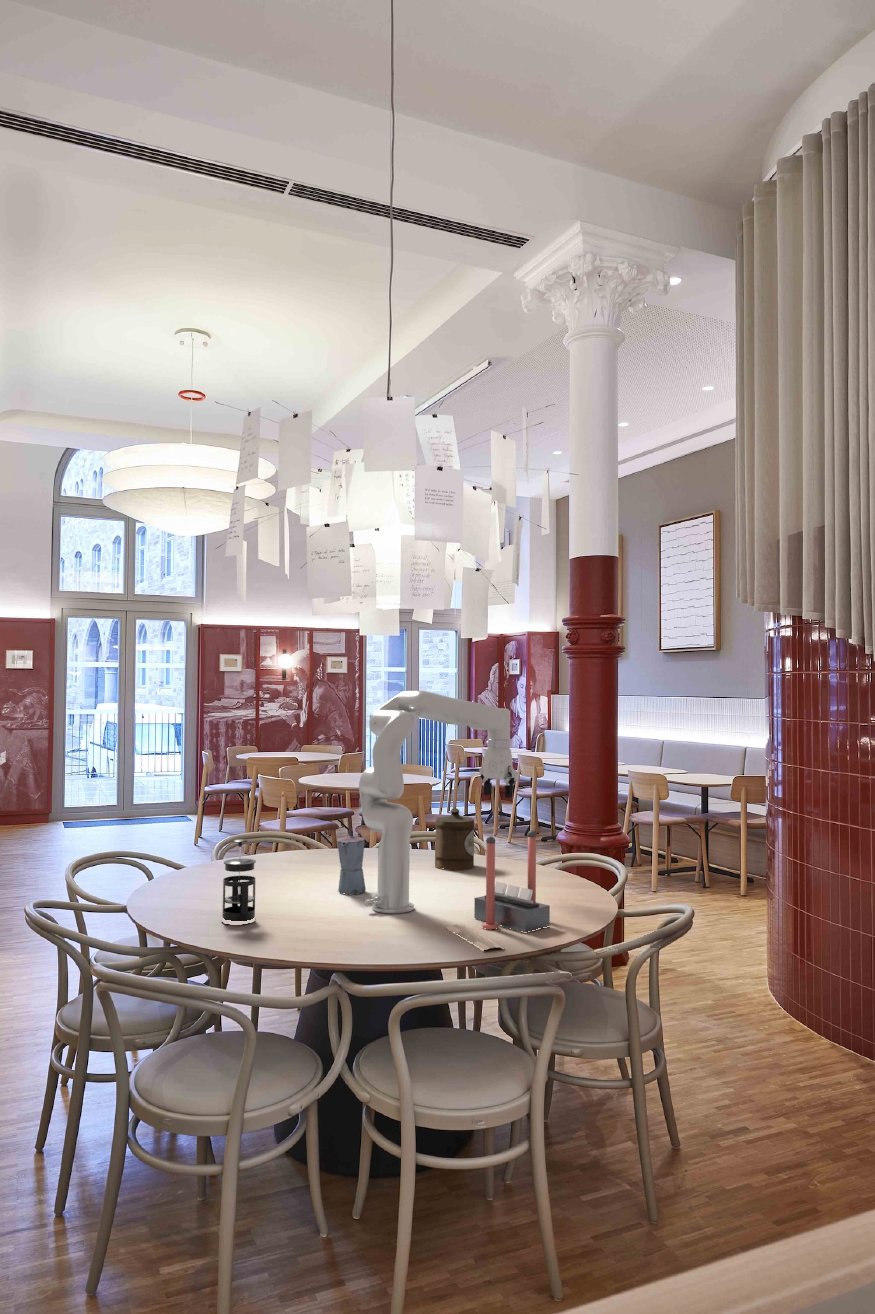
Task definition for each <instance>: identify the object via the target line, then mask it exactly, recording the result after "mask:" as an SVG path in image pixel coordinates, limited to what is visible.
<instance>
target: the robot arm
mask: <svg viewBox="0 0 875 1314" xmlns="http://www.w3.org/2000/svg"><path fill="white" fill-rule="evenodd" d="M415 718H421V719H424V720H430V721H433V722H438V723H442V724H447V725H453V726H454V725H455V726H468V727H469V728H470V729H472V730H477V731H487V741H486V742H485V743H486V745H487V748H485V751H484V757H483V765H482V767H481V768H479V769H478V772H479V775H480V778H481V780H482V783H483V795H484V796H491V795H492V793H493V792H492V791H493V788H492V786H493V782H492V780H493V779H494V780H503V781H504V783H505V785H504V798H513V795H514V794H513V793H514V791H513V787H514V785H515V783H516V782H517V779H518V777H519V775H520V773H519V772H518V771H517V770H516V769H515V768H514V766H513V763H514V762H513V754H512V750H511V711H510V710H509V708H501V707H499V708H498V707H496V706H492V705H488V704H483V703H479V702H474V701H468V700H464V699H460V698H456V697H451V696H446V695H442V694H438V693H436V692H435V693H434V692H430V691H426V690H405V691H401V692H400V693H398V694H397V695H395V696H394V697H393V698H391V699H390V700H388V701H387V702H385V703H384V704H383V705H382V706H380V707H379V708H378V709H376V710H375V711H374V712H373V713H372V714H371V716H370V719H369V721H368V722H369V723H368V724H369V729H370V731H371V732H372V733H373V735H375V736H377V738H376V739H375V742H374V743H373V747H372V764H373V766H370V767H368V768H366V769H365V770H364V771H363V772H362V773H361V775H360V778H359V782H358V791H359V799H360V807H361V813H362V820H363V823H364V824H365V826H366V827H367V828H368V829H369V830H370V831H372V832H376V833H381V834H382V835H381V838H380V841H379V844H378V848H377V893H375V894H374V896H373V897H372V898H368V899H364V901H363V902H364V906H365V907H370V906H372V910H373V911H374V912H378V913H382V914H404V913H408V912H411V911H413V910H414V909H415V904H414V903H412V902H410V847H411V844H410V843H411V835H412V831H413V826H414V818H413V817H414V816H413V814H412V812H411V810H410V809H409V808H408V807H407V806H405V805H403V804H400V803H396V802H388V801H389V800H390V801H392V800H394V801H395V800H398V799H399V798H400V797H402V795H403V794H404V792H405V791H404V790H405V784H404V774H403V767H402V757H401V756H402V755H401V753H402V747H403V744H404V742H405V741H406V739H407V738H408V737H409V736H410V735H411V733H412V732H413V730H414V727H415Z"/></svg>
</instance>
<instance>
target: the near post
mask: <svg viewBox="0 0 875 1314" xmlns="http://www.w3.org/2000/svg"><path fill="white" fill-rule="evenodd" d="M485 842H486V843H485V844H486V859H485V861H486V864H485V865H486V866H485V867H486V869H485V871H486V873H485V879H486V881H485V882H486V883H485V889H486V890H485V895H486V922H484V921H482V923H481V924H482V926H481V927H483V928H486V929H490V930H489V931H493V930H492V929H496V928H498V929H499V926H498V923H496V922H495V885H496V881H495V880H496V838H495V837H494V836H491V835H490V836H487V837H486V840H485ZM483 928H482V929H483Z"/></svg>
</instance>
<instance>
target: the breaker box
mask: <svg viewBox="0 0 875 1314" xmlns="http://www.w3.org/2000/svg"><path fill="white" fill-rule="evenodd" d="M473 910H474V918H476V919H475V920H477V919H479V920H478V921H480V920H482V921H481V922H484V921H486V894H485V895H483V896H477V897H474V909H473ZM550 910H551V909H550V905H549V904H545V903H541V902H537V901H536V902H534V903H533V904H528V903H524V902H520V901H516V900H512V899H508V898H504V897H500V896H496V895H495V922H496V923H498V925H502V926H504V927H503V928H505V927H507V928H506V929H508V928H511V929H513V930H512V931H515V930H518V931H523V932H528V931H532V930H536V929H538V928H543V927H547V926H551V925H550V924H551V923H550V919H551V917H550V914H551V913H550V912H551V911H550ZM511 929H510V930H511ZM518 931H517V932H518Z"/></svg>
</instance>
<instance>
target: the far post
mask: <svg viewBox="0 0 875 1314" xmlns="http://www.w3.org/2000/svg"><path fill="white" fill-rule="evenodd" d="M536 872H537V833H536V831H535V830H529V831H528V832H527V889H530V890H533V893H532V897H531V900H532V901H533V902H537V883H536V882H537V873H536Z"/></svg>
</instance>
